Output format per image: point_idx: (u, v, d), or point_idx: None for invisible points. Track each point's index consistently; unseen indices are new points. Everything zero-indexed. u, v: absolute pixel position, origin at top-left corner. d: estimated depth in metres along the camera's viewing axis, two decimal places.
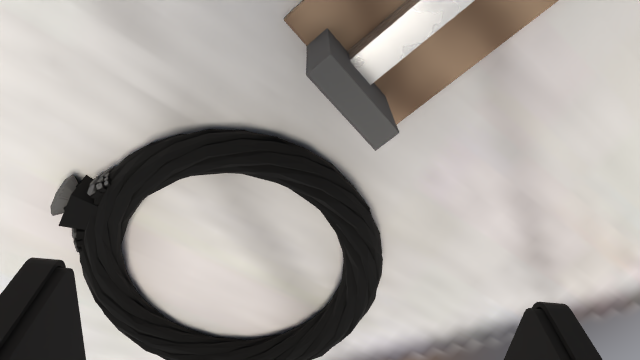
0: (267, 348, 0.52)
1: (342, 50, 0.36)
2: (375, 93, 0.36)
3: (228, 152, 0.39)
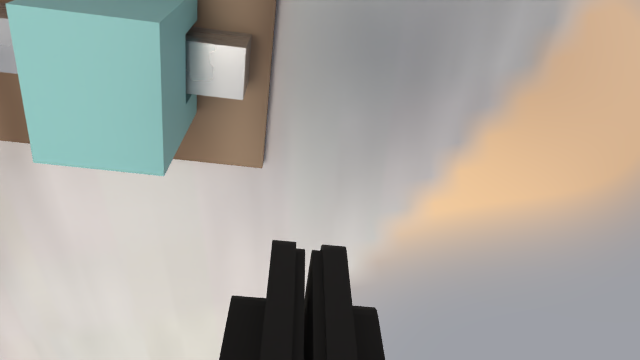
0: None
1: None
2: None
3: None
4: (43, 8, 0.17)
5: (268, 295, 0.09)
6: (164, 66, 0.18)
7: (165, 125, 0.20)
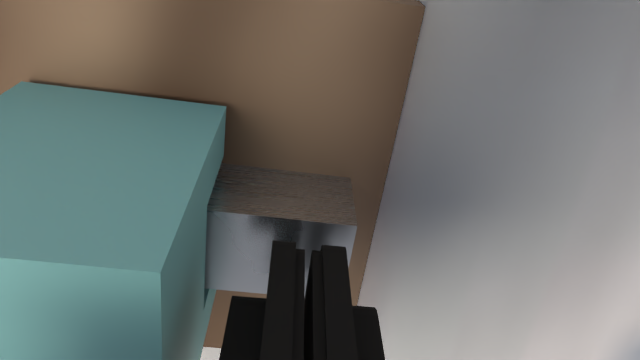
0: None
1: None
2: None
3: None
4: None
5: (268, 295, 0.09)
6: (169, 329, 0.09)
7: None
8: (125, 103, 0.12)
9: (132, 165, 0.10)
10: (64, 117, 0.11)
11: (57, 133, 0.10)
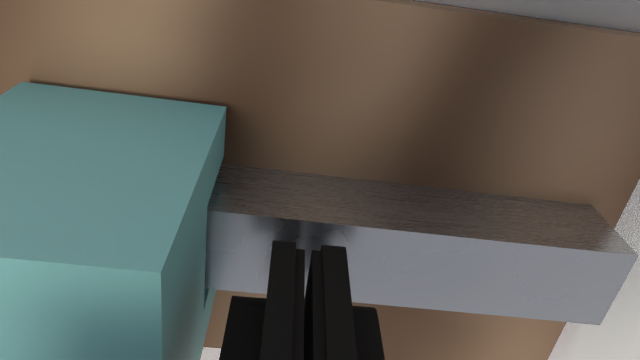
0: None
1: None
2: None
3: None
4: None
5: (268, 295, 0.09)
6: (170, 329, 0.09)
7: None
8: (125, 103, 0.12)
9: (132, 165, 0.10)
10: (64, 118, 0.11)
11: (58, 133, 0.10)
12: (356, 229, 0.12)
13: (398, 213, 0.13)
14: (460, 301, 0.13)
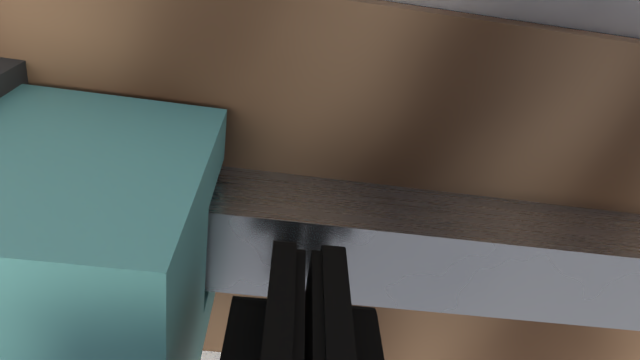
0: None
1: None
2: None
3: None
4: None
5: (269, 295, 0.09)
6: (173, 330, 0.09)
7: None
8: (126, 106, 0.12)
9: (135, 167, 0.10)
10: (65, 119, 0.11)
11: (59, 135, 0.10)
12: (563, 253, 0.13)
13: (591, 236, 0.14)
14: None
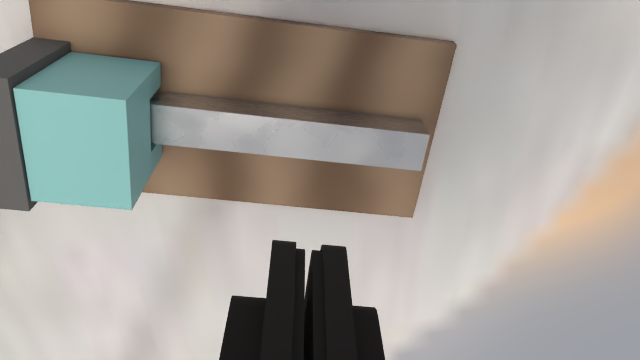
0: None
1: None
2: None
3: None
4: (40, 91, 0.23)
5: (268, 295, 0.09)
6: (130, 129, 0.25)
7: (132, 172, 0.26)
8: (115, 60, 0.28)
9: (118, 78, 0.26)
10: (90, 64, 0.27)
11: (88, 68, 0.27)
12: (307, 122, 0.29)
13: (326, 118, 0.30)
14: (355, 158, 0.30)
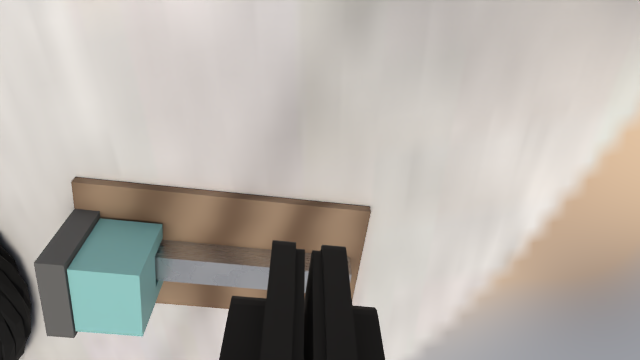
0: None
1: None
2: None
3: None
4: (84, 271, 0.36)
5: (268, 295, 0.09)
6: (142, 288, 0.37)
7: (143, 312, 0.38)
8: (131, 225, 0.41)
9: (133, 248, 0.39)
10: (114, 232, 0.40)
11: (113, 238, 0.39)
12: (264, 267, 0.41)
13: None
14: None
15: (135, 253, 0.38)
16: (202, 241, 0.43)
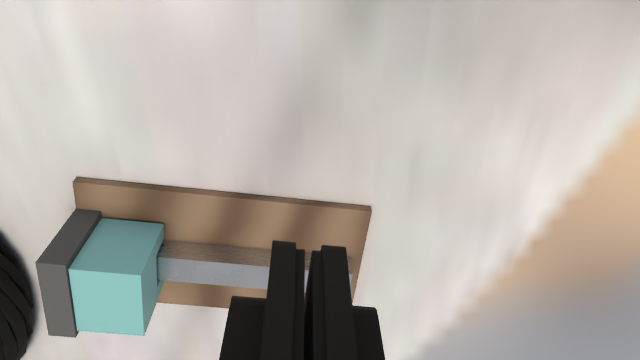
0: None
1: None
2: None
3: None
4: (86, 270, 0.36)
5: (268, 295, 0.09)
6: (143, 288, 0.37)
7: (144, 312, 0.38)
8: (132, 225, 0.41)
9: (134, 248, 0.39)
10: (115, 232, 0.40)
11: (115, 238, 0.39)
12: (265, 267, 0.42)
13: None
14: None
15: (136, 253, 0.38)
16: (203, 241, 0.43)
